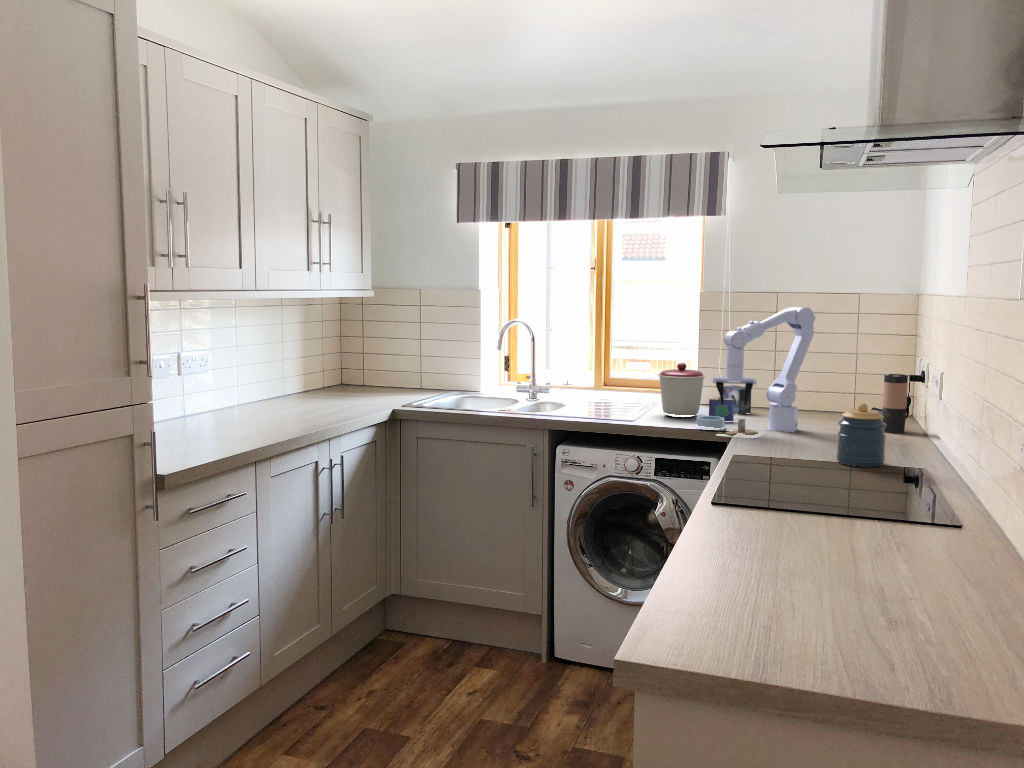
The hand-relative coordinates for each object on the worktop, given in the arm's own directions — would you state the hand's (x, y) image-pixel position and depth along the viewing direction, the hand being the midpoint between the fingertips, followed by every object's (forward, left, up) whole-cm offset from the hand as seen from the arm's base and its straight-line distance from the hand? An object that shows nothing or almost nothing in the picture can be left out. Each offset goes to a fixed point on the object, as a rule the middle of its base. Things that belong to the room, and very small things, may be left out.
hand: (733, 404), depth 301 cm
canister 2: (-47, +31, -10) cm, 57 cm away
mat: (-4, +3, -10) cm, 11 cm away
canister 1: (+28, -25, -10) cm, 39 cm away
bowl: (+9, -3, -10) cm, 14 cm away
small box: (+12, -45, -10) cm, 47 cm away
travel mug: (-48, -30, -10) cm, 57 cm away
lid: (-4, +3, -10) cm, 11 cm away
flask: (+10, -19, -10) cm, 24 cm away
